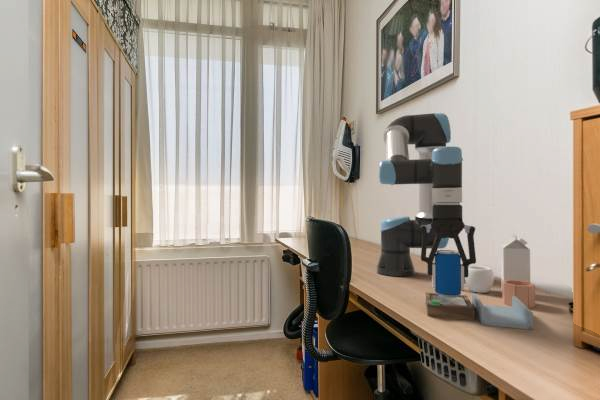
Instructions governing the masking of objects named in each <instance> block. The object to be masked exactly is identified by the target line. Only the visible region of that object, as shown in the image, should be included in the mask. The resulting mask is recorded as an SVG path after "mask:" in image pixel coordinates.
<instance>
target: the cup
mask: <svg viewBox="0 0 600 400" xmlns="http://www.w3.org/2000/svg"><path fill="white" fill-rule="evenodd" d="M501 295H502V296H501V300H502V303H504V304H505V305H507V306H510V307H512V296H516V297H517V298H518V299H519V300H520V301H521V302H522V303H523V304H524V305H525V306H526V307H527V308H529V309H530V308H534V307H535V308H536V284H534V283H533V282H531V281H530V282H526V281H520V280H504V281H502V290H501Z"/></svg>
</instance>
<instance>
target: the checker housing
mask: <svg viewBox="0 0 600 400" xmlns="http://www.w3.org/2000/svg"><path fill="white" fill-rule="evenodd" d="M431 295H438V294H437V293H436V292H425V307H426V315H427V317H437V318H447V319H456V318H457V319H460V320H469V321H474V320H475V312H474V307H473V305H472V301H471V299H469V297H468V295H466V294H465V295H464V294H460V295H458V297H463V299H464V301H465V302H466V304H467V306H462V305H449V304H440V301H439V300H431ZM457 319H456V320H457Z"/></svg>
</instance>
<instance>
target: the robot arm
mask: <svg viewBox="0 0 600 400" xmlns="http://www.w3.org/2000/svg"><path fill="white" fill-rule="evenodd" d="M451 133H452V132H451V125H450V120H449V117H448V116H447V114H446V113H441V112H440V113H439V112H438V113H435V112H433V113H423V114H422V113H421V114H411V115H410V114H407V115H403V116H401V117H397V118H395V119H394V120H393V121H391V122H390V123H389V124H388V125H387V127H386V128H385V130H384V132H383V141H384V144H385V145H386V146H385V148H386V149H385V160H382V161H379V167H378V168H379V170H378V172H379V173H378V174H379V175H378V176H379V177H378V178H379V183H380V184H382V185H391V186H393V185H413V184H414V185H418V212H417V213H416V214H415V216H414V219H411V218H410V216H409V215H408V216H397V217H390V218H384V219H383V220H382V221H381V224H380V257H379V260H378V263H377V266H376V273H377V274H381V275H384V276H389V277H390V276H391V277H410V276H413V275H414V274H415V267H414V263H413V260H412V257H411V249H421V252H420V260H421V262H424V263H426V264H427V274H428V276H431V287H432V289H435V288H436V279H435V262H434V261H435V254H436V253H437V250H443V249H445V248H446V247H447V245H448V243H449V241H450V240H449V239H453V240H454V244H455V246H456V249H457V251H458V252H459V255H460V257H461V263H462V264H461V291H465V287H464V285H465V277H468V266H471V265H472V264H476V262H477V257H476V249H475V248H476V247H475V237H474V235H475V231H476V227H475V226H473V225H467V224H465V223H464V221H463V206H462V204H461V203H462V202H463V161H464V158H463V154H462V153H463V152H462V148H460V147H459V146H447V144H449V143H451V140H452V139H451V136H452V135H451ZM408 145H414V149H415V151H416V152H417V153H418V159H410V154H409V153H410V152H409V146H408ZM463 230H464V231H465V234H466V238H467V247H468V255H469V258H467V255H466V252H465V251H464V250H465V249H464V247H463V244H462V241H461V239H460V237H459V235H460V234H461V232H463ZM427 249H431V250H430V252H429V255H428V257H427Z"/></svg>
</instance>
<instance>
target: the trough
mask: <svg viewBox="0 0 600 400" xmlns="http://www.w3.org/2000/svg"><path fill="white" fill-rule="evenodd" d="M471 299H472V300H471V304H472V305H473V307H474V314H475V316H476V317H477V318H478V321H479V322H480V324H481V326H491V327H502V328H510V329H511V328H512V329H520V330H521V329H522V330H532V331H533V330H534V313H533V311H532V310H531V309H530V308H527V307H526V306H525V305H524V304H523V303H522V302H521V301H520V300H519V299H518V298H517V297H516V296H512V306H501V305H489V304H483V303H482V301H481V300H480V299H479V297H478V295H477V294H476V292H472V293H471Z"/></svg>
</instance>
